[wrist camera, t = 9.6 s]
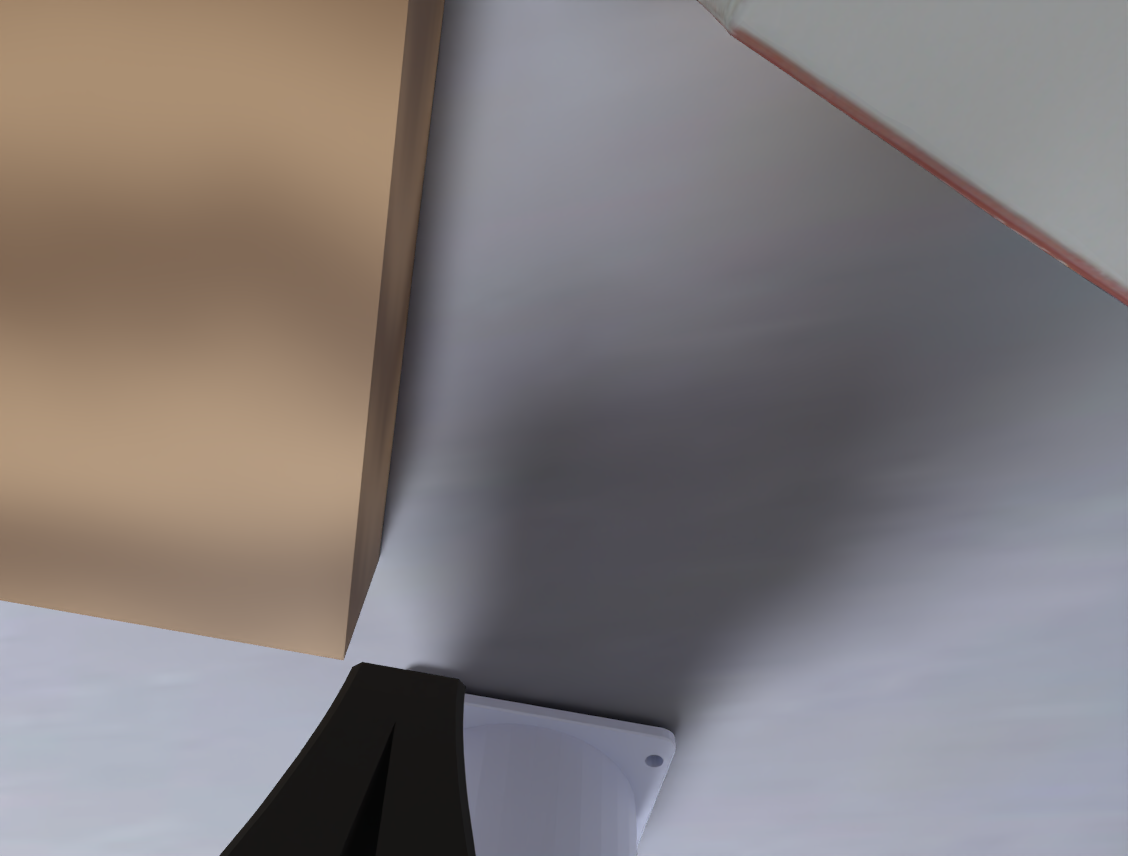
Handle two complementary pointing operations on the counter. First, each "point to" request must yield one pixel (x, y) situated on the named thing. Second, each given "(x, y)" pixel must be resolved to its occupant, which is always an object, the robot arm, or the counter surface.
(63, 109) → the brown flat block
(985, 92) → the small box
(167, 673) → the counter surface
